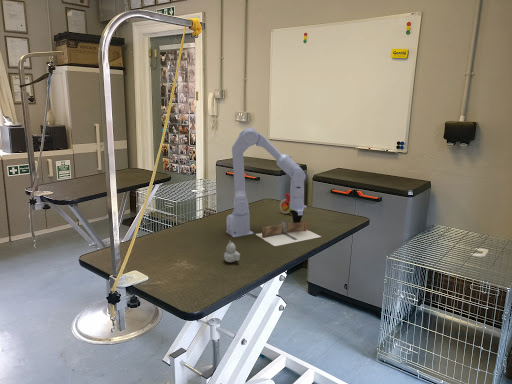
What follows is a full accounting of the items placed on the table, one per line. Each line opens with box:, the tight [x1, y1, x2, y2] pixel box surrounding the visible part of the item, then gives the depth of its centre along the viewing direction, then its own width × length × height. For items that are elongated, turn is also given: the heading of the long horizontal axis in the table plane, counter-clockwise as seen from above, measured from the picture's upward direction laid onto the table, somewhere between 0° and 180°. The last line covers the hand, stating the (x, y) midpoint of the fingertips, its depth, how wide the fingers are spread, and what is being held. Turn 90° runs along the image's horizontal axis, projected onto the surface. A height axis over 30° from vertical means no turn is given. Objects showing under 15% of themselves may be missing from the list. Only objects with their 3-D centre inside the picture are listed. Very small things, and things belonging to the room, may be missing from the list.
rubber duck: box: [223, 240, 241, 263], centre depth 140 cm, size 5×7×8 cm
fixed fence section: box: [261, 221, 288, 239], centre depth 166 cm, size 11×2×5 cm, turn 118°
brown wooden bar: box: [287, 220, 308, 233], centre depth 170 cm, size 9×2×4 cm, turn 109°
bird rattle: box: [279, 193, 292, 217], centre depth 196 cm, size 6×11×9 cm
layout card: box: [255, 229, 322, 247], centre depth 166 cm, size 22×16×1 cm
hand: (296, 227), depth 171 cm, fingers closed
